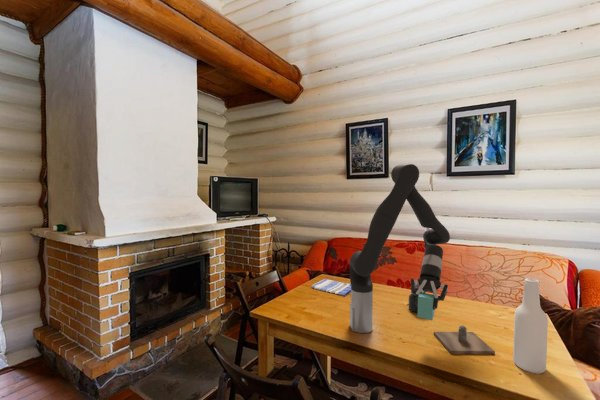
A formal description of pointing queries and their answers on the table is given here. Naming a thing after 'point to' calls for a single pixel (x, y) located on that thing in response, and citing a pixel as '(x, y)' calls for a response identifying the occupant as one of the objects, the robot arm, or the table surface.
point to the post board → (463, 342)
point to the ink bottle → (413, 300)
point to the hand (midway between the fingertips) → (425, 306)
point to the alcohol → (530, 331)
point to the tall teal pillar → (426, 306)
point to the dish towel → (333, 287)
